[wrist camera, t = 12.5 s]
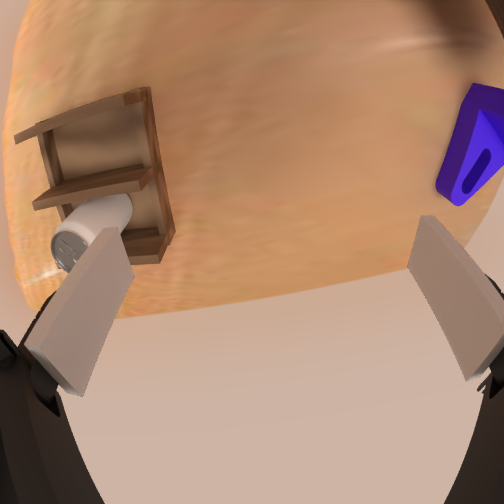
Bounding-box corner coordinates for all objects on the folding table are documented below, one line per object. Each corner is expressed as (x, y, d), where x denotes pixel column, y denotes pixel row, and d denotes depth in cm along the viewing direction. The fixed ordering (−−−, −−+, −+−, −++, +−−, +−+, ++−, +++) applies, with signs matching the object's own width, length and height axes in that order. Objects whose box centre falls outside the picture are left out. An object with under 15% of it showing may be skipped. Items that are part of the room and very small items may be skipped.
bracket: (472, 82, 25) (529, 96, 15) (504, 129, 28) (554, 153, 18) (417, 171, 34) (466, 208, 24) (454, 209, 37) (497, 248, 27)
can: (121, 234, 38) (86, 289, 28) (86, 209, 35) (42, 257, 25) (142, 201, 35) (105, 252, 25) (104, 174, 33) (55, 216, 23)
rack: (50, 118, 28) (13, 132, 22) (150, 87, 28) (122, 90, 21) (84, 240, 39) (59, 271, 33) (175, 231, 39) (160, 266, 32)
